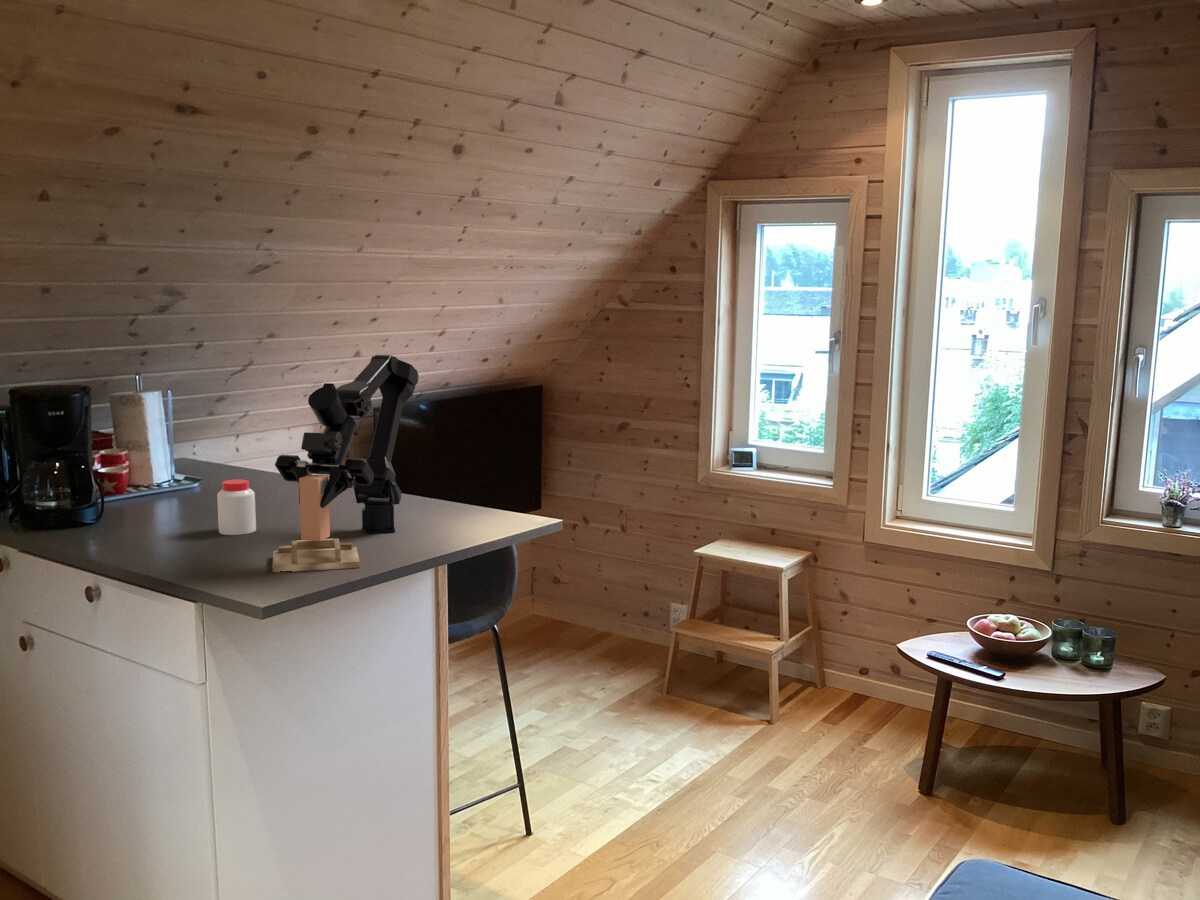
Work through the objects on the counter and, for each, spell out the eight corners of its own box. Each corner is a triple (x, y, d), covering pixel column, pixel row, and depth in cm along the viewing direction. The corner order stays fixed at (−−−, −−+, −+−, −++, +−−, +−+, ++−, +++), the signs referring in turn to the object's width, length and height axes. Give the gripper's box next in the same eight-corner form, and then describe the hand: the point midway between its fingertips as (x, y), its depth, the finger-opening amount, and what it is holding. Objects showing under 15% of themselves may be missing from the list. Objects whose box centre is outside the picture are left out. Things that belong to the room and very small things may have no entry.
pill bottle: (243, 525, 239) (241, 477, 237) (263, 530, 234) (261, 481, 232) (211, 531, 233) (209, 481, 231) (231, 536, 228) (229, 486, 226)
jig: (356, 552, 216) (355, 534, 216) (359, 567, 205) (359, 548, 204) (273, 556, 212) (273, 538, 211) (272, 572, 201) (272, 553, 200)
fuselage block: (310, 534, 209) (308, 474, 207) (330, 536, 208) (328, 475, 206) (300, 539, 205) (298, 478, 203) (320, 541, 204) (318, 479, 203)
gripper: (277, 414, 209) (249, 479, 200) (366, 417, 205) (342, 484, 196) (298, 447, 218) (273, 512, 209) (384, 451, 214) (361, 517, 205)
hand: (311, 506), depth 204 cm, fingers closed on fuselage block, 4 cm apart
